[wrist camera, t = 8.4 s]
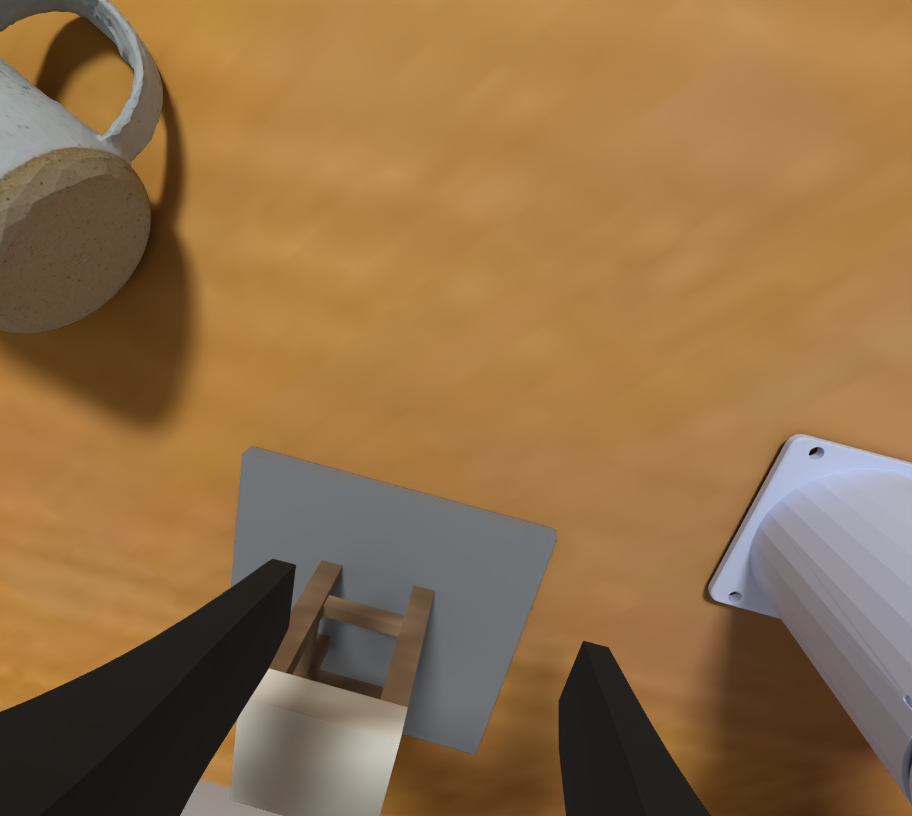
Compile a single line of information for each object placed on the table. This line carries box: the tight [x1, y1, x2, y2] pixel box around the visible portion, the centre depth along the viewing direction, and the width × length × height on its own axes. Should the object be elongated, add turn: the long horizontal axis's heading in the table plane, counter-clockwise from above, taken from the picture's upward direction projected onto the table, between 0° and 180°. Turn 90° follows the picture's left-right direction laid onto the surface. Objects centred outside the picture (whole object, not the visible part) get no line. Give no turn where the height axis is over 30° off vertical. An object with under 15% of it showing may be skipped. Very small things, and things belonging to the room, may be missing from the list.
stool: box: [230, 560, 434, 816], centre depth 19 cm, size 5×5×7 cm
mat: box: [231, 446, 557, 755], centre depth 23 cm, size 14×14×1 cm
